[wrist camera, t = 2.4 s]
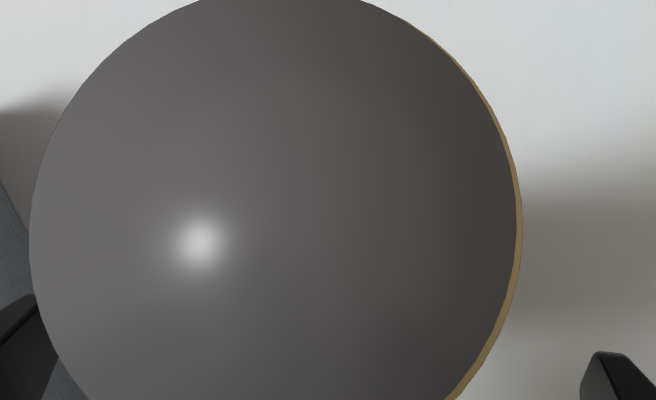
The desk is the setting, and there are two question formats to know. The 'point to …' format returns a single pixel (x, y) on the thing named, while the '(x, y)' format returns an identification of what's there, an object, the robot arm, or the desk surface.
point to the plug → (276, 211)
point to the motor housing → (26, 289)
